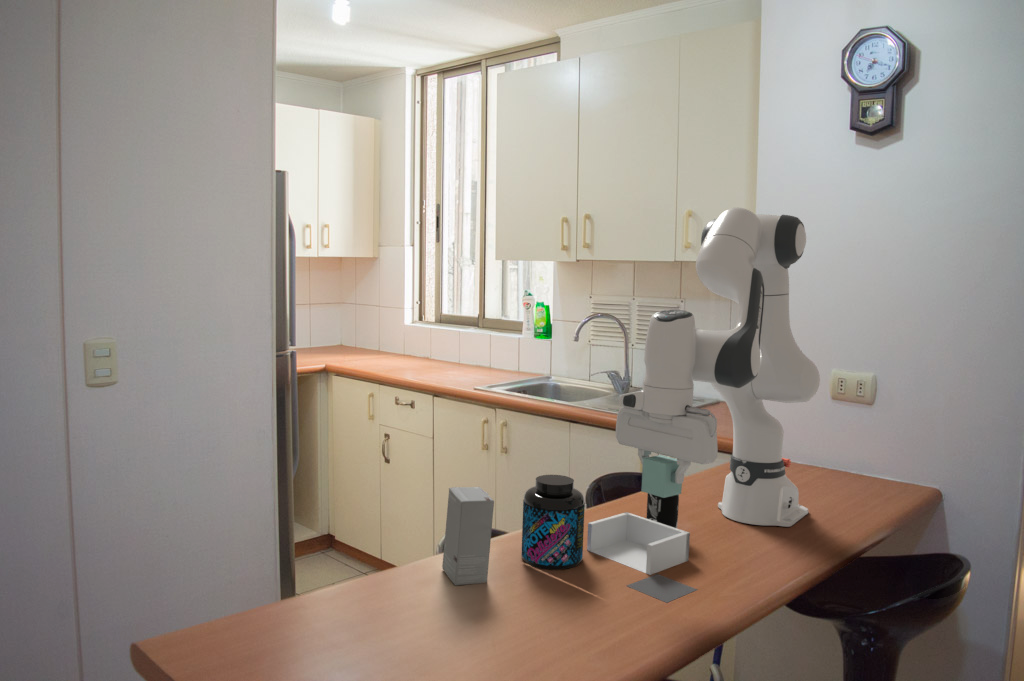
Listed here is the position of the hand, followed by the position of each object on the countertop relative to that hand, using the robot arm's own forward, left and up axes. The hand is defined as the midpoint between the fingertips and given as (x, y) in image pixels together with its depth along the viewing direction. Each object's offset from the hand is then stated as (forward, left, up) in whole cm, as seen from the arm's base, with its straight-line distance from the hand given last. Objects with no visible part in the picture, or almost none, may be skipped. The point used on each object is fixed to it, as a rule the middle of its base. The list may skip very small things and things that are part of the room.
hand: (662, 478), depth 139 cm
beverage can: (-22, -16, -20) cm, 34 cm away
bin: (-9, -12, -20) cm, 25 cm away
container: (+6, -21, -20) cm, 30 cm away
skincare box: (+24, -25, -20) cm, 40 cm away
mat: (0, +1, -20) cm, 20 cm away
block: (0, 0, -3) cm, 3 cm away
